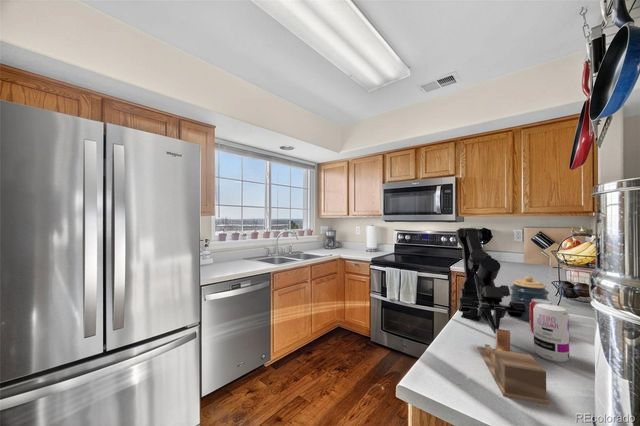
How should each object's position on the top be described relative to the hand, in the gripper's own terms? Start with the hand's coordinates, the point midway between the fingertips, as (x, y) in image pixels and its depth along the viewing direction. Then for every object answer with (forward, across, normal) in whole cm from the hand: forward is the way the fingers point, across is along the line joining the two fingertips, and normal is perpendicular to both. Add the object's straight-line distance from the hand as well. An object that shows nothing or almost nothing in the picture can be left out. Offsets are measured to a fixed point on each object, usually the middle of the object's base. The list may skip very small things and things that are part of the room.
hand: (496, 333), depth 79 cm
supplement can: (+1, +16, +9) cm, 18 cm away
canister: (-23, +24, +34) cm, 48 cm away
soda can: (-11, +21, +22) cm, 32 cm away
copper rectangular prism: (+12, 0, -4) cm, 13 cm away
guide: (+11, 0, -1) cm, 11 cm away
